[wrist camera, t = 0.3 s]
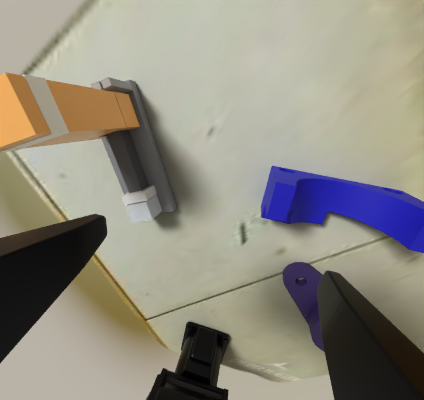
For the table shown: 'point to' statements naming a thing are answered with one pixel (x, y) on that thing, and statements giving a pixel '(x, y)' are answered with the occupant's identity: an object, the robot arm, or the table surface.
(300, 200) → the cable clip
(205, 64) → the table surface
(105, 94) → the orange block
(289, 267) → the lever
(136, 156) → the grey pronged base
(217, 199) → the table surface
